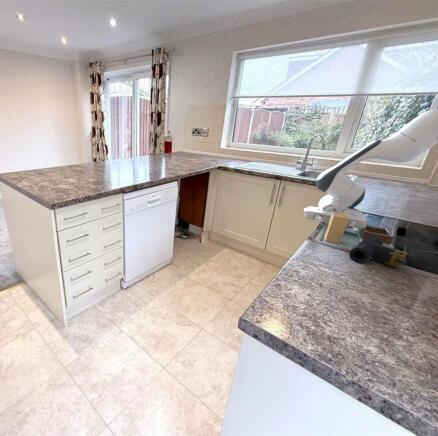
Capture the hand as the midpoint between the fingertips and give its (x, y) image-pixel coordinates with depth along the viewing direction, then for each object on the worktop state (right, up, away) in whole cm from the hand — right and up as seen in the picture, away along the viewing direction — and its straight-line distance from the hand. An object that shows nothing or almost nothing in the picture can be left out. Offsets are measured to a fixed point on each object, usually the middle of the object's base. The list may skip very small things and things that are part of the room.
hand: (335, 224), depth 93 cm
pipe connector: (+3, -12, -13) cm, 17 cm away
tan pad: (-2, -6, 0) cm, 6 cm away
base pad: (+14, -6, 0) cm, 15 cm away
